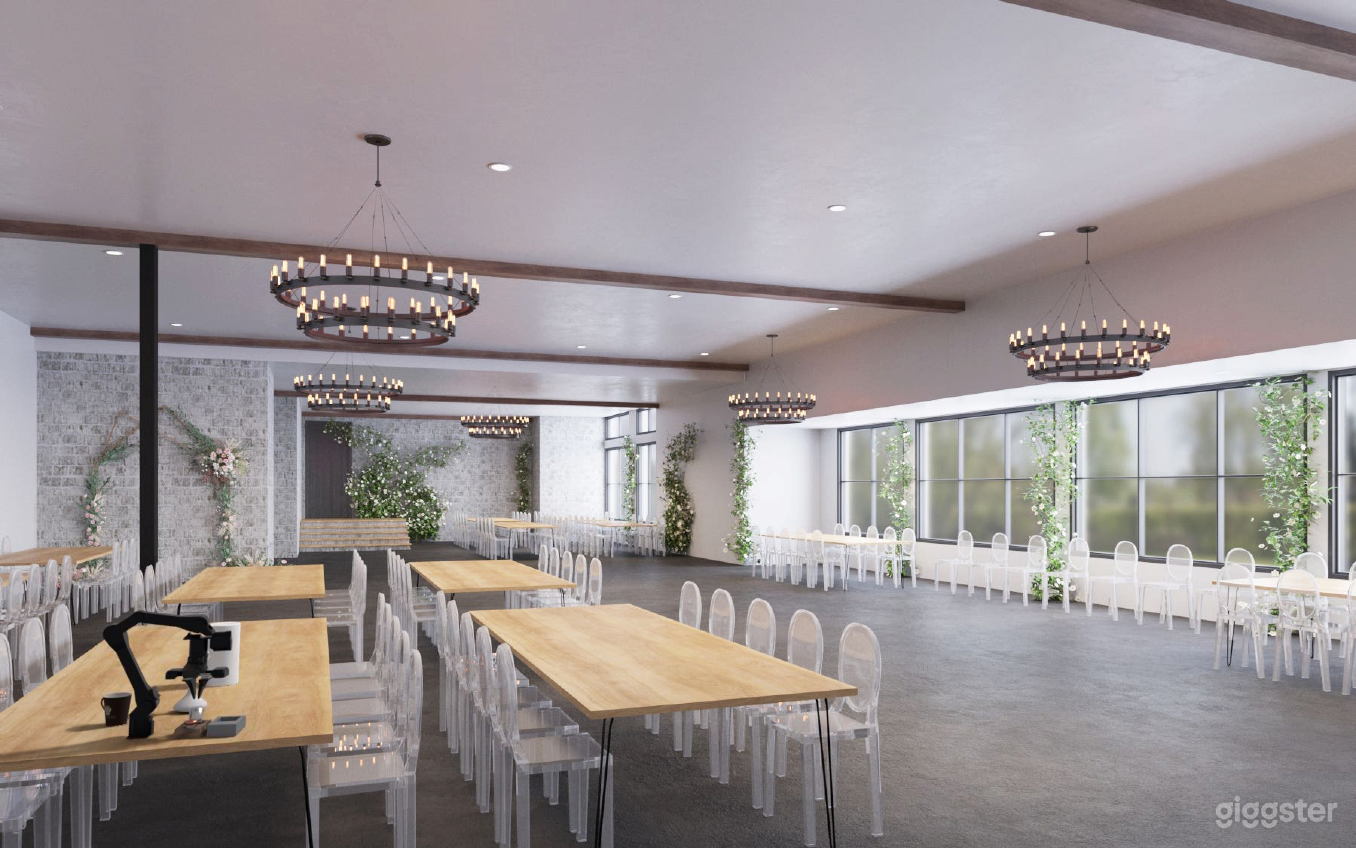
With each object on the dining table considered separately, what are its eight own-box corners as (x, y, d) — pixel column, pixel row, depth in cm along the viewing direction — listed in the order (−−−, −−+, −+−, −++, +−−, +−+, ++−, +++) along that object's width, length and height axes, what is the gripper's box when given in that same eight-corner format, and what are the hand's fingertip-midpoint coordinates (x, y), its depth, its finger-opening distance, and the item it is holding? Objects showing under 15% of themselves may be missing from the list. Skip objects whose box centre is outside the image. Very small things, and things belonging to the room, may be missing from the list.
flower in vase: (192, 715, 336) (195, 645, 338) (165, 713, 338) (168, 644, 340) (217, 707, 349) (220, 640, 350) (191, 705, 351) (193, 639, 353)
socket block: (174, 738, 305) (174, 729, 305) (186, 729, 316) (186, 720, 316) (200, 737, 306) (200, 728, 306) (211, 728, 318) (211, 719, 318)
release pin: (181, 735, 306) (181, 722, 306) (185, 732, 309) (185, 719, 310) (194, 734, 306) (194, 722, 307) (198, 731, 310) (198, 719, 311)
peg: (186, 733, 311) (187, 709, 312) (190, 730, 315) (191, 706, 315) (199, 733, 312) (200, 709, 312) (203, 730, 316) (204, 706, 316)
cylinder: (233, 679, 400) (236, 621, 401) (241, 684, 390) (244, 624, 392) (202, 683, 392) (204, 623, 393) (209, 688, 382) (212, 626, 384)
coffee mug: (133, 724, 323) (134, 695, 323) (105, 728, 317) (106, 699, 317) (125, 718, 331) (126, 690, 332) (97, 722, 325) (98, 693, 326)
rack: (206, 737, 306) (207, 725, 307) (217, 728, 318) (218, 716, 318) (235, 736, 308) (236, 724, 308) (245, 727, 320) (246, 715, 320)
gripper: (159, 657, 305) (157, 705, 304) (220, 656, 308) (218, 703, 307) (172, 651, 316) (170, 698, 315) (230, 650, 319) (228, 696, 318)
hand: (196, 699), depth 314 cm, fingers closed
